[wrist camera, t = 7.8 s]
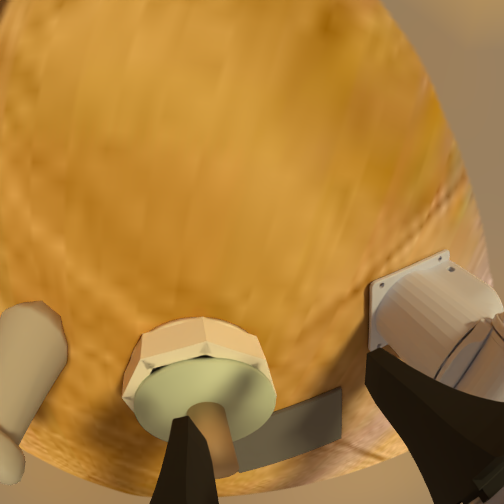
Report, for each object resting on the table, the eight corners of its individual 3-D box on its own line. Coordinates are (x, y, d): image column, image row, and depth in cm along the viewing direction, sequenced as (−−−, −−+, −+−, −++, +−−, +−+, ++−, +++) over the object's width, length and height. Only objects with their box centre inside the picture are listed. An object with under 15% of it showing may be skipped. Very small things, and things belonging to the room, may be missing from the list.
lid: (273, 344, 18) (304, 410, 13) (273, 428, 23) (293, 480, 18) (114, 366, 16) (104, 438, 11) (156, 446, 21) (160, 500, 16)
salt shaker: (73, 361, 19) (42, 507, 8) (13, 339, 17) (-42, 468, 6) (77, 303, 18) (19, 471, 6) (9, 279, 16) (-81, 414, 4)
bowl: (244, 298, 20) (256, 325, 17) (272, 389, 25) (282, 416, 22) (106, 338, 19) (99, 368, 16) (163, 419, 24) (165, 446, 21)
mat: (340, 386, 27) (341, 389, 27) (340, 435, 32) (341, 438, 32) (209, 430, 26) (209, 433, 25) (239, 470, 31) (239, 473, 30)
